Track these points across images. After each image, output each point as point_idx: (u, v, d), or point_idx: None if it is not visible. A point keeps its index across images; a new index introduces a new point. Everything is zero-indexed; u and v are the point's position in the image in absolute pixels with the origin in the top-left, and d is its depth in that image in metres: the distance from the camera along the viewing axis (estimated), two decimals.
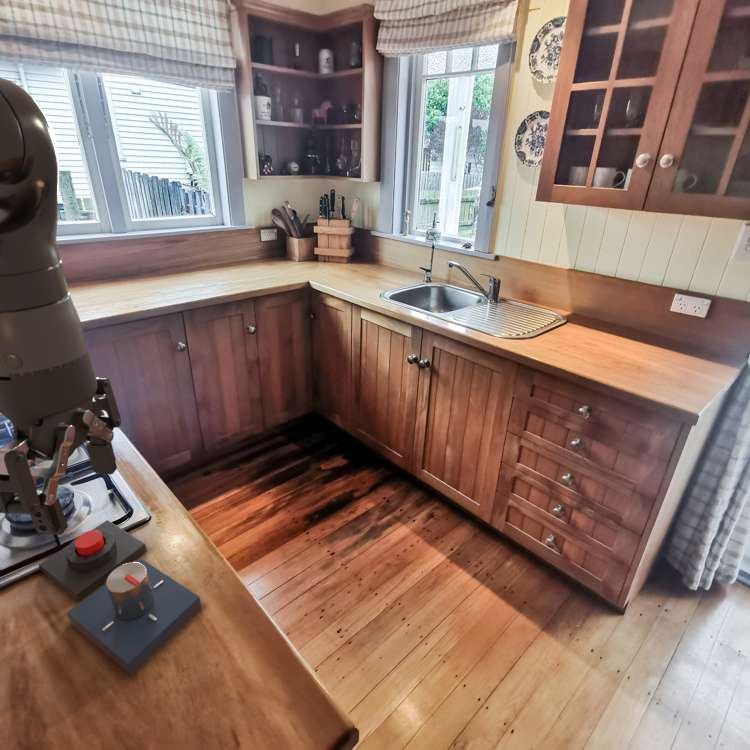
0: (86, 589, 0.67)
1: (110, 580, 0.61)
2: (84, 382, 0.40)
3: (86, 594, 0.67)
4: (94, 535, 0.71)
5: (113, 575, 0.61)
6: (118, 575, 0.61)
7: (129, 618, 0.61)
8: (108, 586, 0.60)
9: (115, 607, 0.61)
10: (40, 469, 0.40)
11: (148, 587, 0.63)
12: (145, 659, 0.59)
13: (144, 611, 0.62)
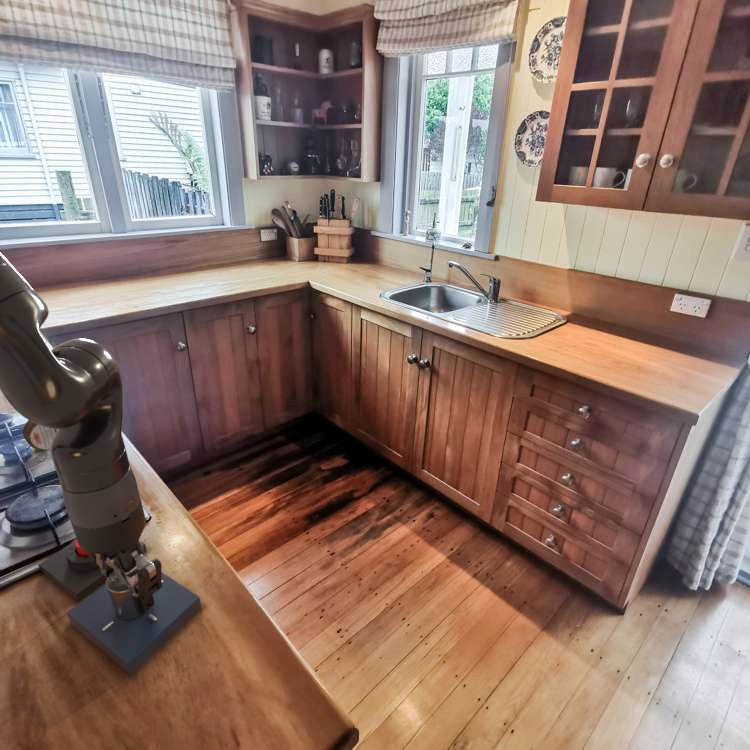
0: (86, 589, 0.67)
1: (110, 580, 0.61)
2: None
3: (86, 594, 0.67)
4: None
5: (113, 575, 0.61)
6: None
7: (129, 618, 0.61)
8: (108, 586, 0.60)
9: (115, 607, 0.61)
10: None
11: None
12: (145, 659, 0.59)
13: None
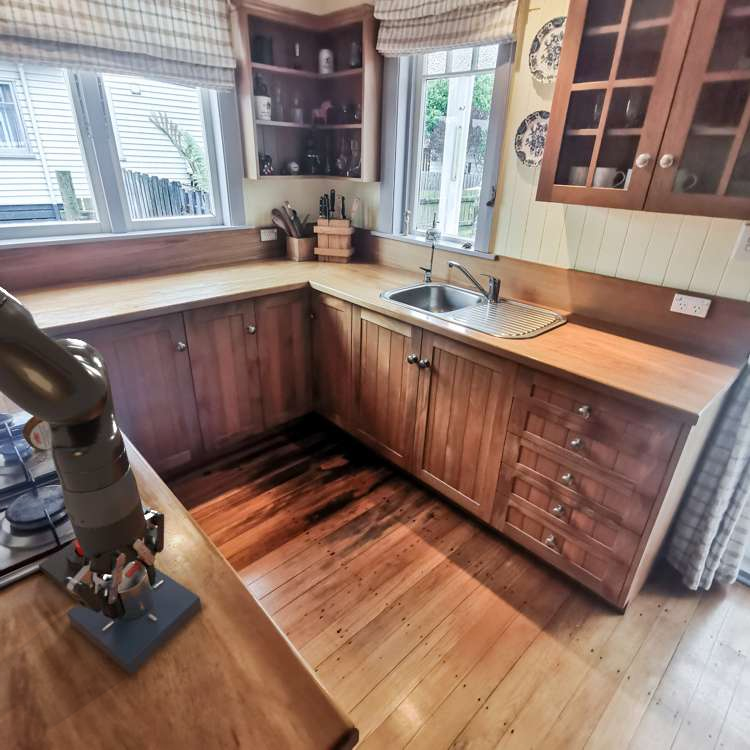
0: None
1: (128, 586, 0.60)
2: None
3: None
4: None
5: (121, 587, 0.60)
6: (123, 583, 0.60)
7: None
8: (136, 584, 0.60)
9: (146, 598, 0.62)
10: None
11: None
12: (145, 659, 0.59)
13: None
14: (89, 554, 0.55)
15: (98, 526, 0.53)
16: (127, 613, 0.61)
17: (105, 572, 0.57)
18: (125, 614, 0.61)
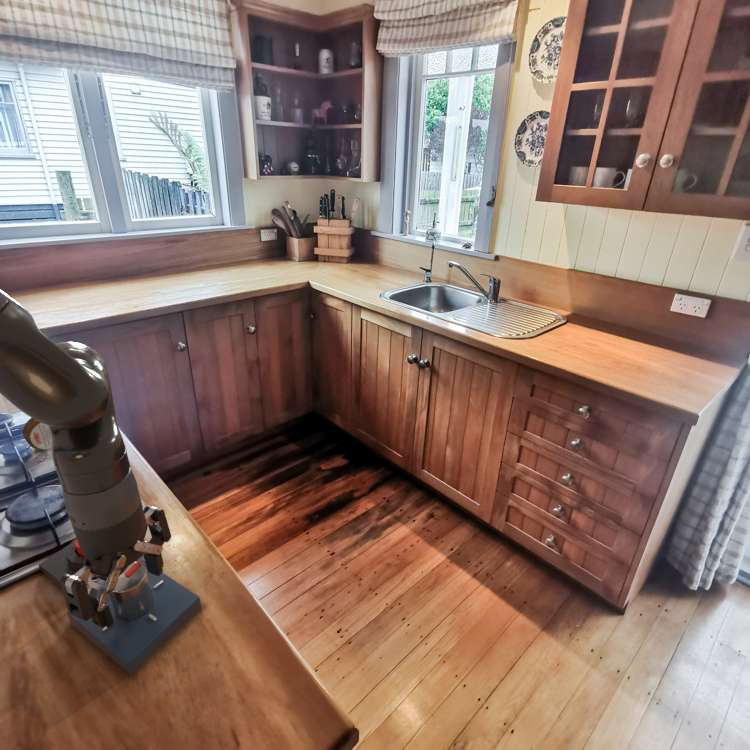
0: None
1: (128, 586, 0.60)
2: None
3: None
4: None
5: (122, 587, 0.60)
6: (123, 583, 0.60)
7: None
8: (136, 584, 0.60)
9: (146, 598, 0.62)
10: None
11: None
12: (145, 659, 0.59)
13: None
14: (90, 556, 0.55)
15: (99, 528, 0.53)
16: (127, 613, 0.61)
17: (106, 574, 0.57)
18: (125, 614, 0.61)
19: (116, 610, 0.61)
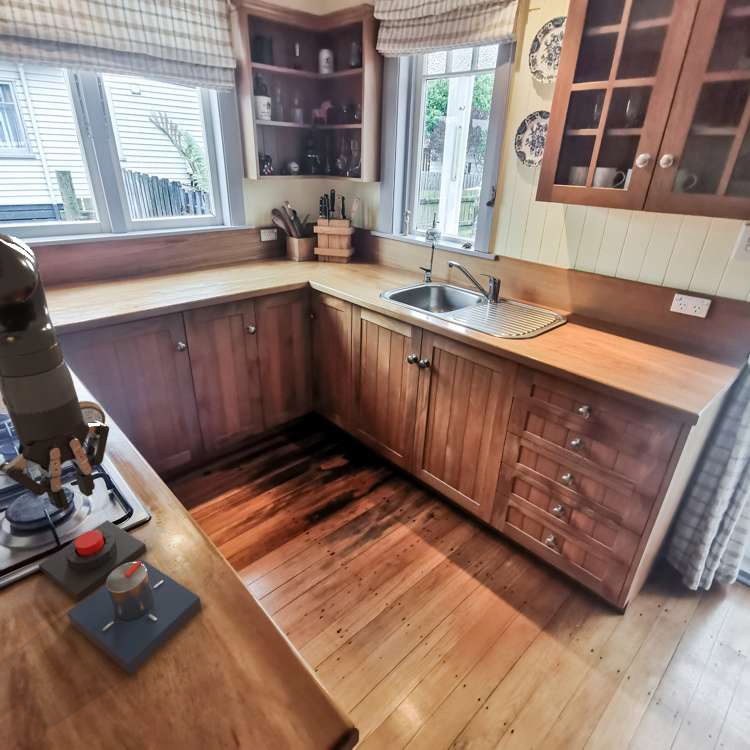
0: (86, 589, 0.67)
1: (128, 586, 0.60)
2: None
3: (86, 594, 0.67)
4: (94, 535, 0.71)
5: (122, 587, 0.60)
6: (123, 583, 0.60)
7: None
8: (136, 584, 0.60)
9: (146, 598, 0.62)
10: None
11: None
12: (145, 659, 0.59)
13: None
14: (22, 441, 0.59)
15: (26, 413, 0.56)
16: (127, 613, 0.61)
17: (39, 462, 0.61)
18: (125, 614, 0.61)
19: (116, 610, 0.61)
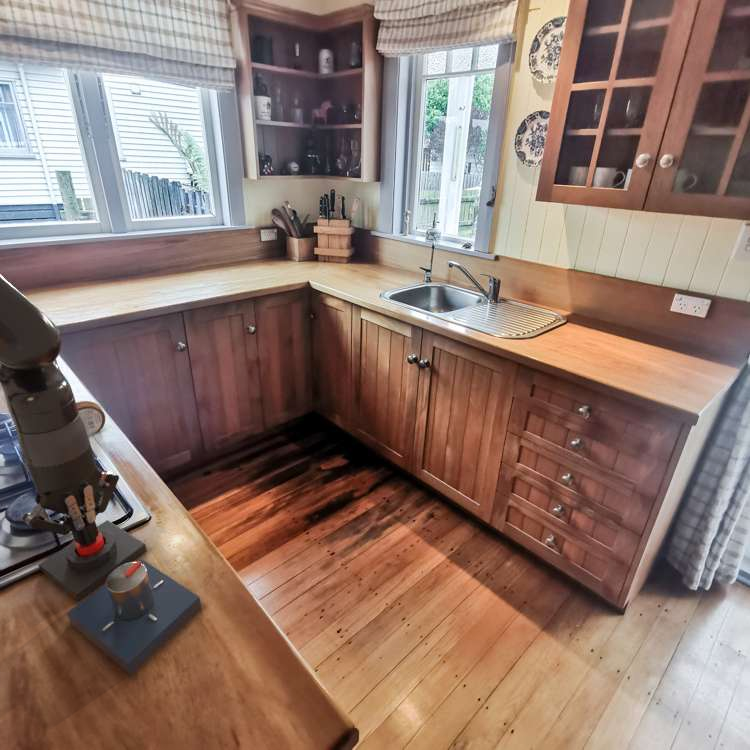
0: (86, 589, 0.67)
1: (128, 586, 0.60)
2: None
3: (86, 594, 0.67)
4: None
5: (122, 587, 0.60)
6: (123, 583, 0.60)
7: None
8: (136, 584, 0.60)
9: (146, 598, 0.62)
10: None
11: None
12: (145, 659, 0.59)
13: None
14: (39, 491, 0.62)
15: (43, 466, 0.60)
16: (127, 613, 0.61)
17: (55, 510, 0.64)
18: (125, 614, 0.61)
19: (116, 610, 0.61)
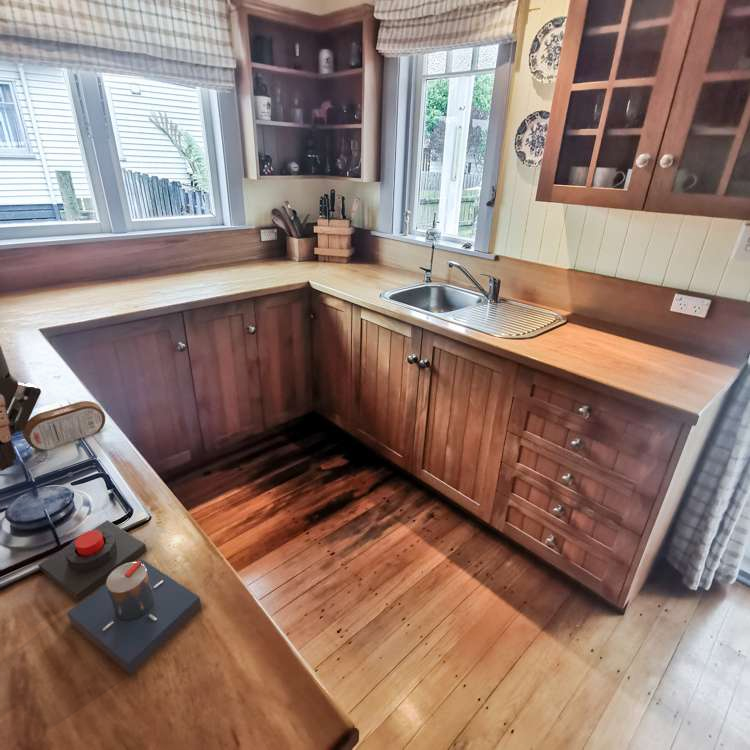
0: (86, 589, 0.67)
1: (128, 586, 0.60)
2: None
3: (86, 594, 0.67)
4: (94, 535, 0.71)
5: (122, 587, 0.60)
6: (123, 583, 0.60)
7: None
8: (136, 584, 0.60)
9: (146, 598, 0.62)
10: None
11: None
12: (145, 659, 0.59)
13: None
14: None
15: None
16: (127, 613, 0.61)
17: None
18: (125, 614, 0.61)
19: (116, 610, 0.61)
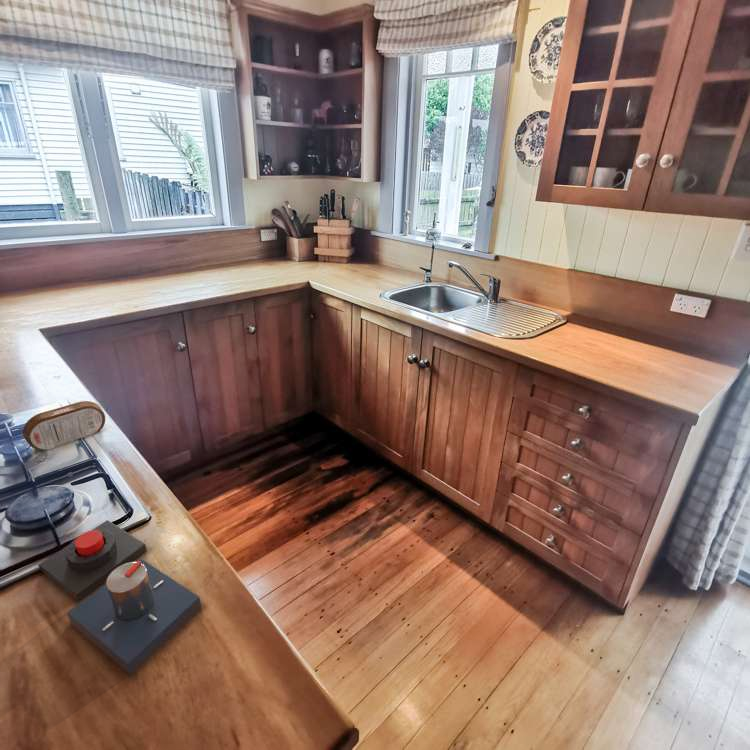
0: (86, 589, 0.67)
1: (128, 586, 0.60)
2: None
3: (86, 594, 0.67)
4: (94, 535, 0.71)
5: (122, 587, 0.60)
6: (123, 583, 0.60)
7: None
8: (136, 584, 0.60)
9: (146, 598, 0.62)
10: None
11: None
12: (145, 659, 0.59)
13: None
14: None
15: None
16: (127, 613, 0.61)
17: None
18: (125, 614, 0.61)
19: (116, 610, 0.61)
